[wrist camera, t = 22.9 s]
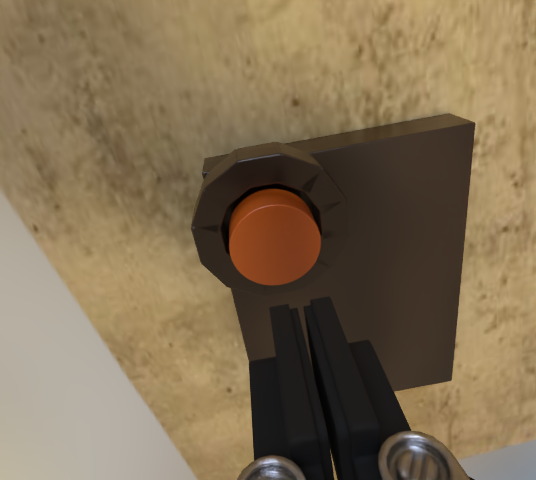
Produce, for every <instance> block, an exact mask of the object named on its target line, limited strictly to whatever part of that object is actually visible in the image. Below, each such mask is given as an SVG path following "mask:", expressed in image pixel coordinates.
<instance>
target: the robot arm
mask: <svg viewBox="0 0 536 480" xmlns="http://www.w3.org/2000/svg"><path fill="white" fill-rule="evenodd" d="M303 309H304V316H305V322H306V329H307V336H308V343H309V350H310V356H311V362H310V358H309V354H308V349H307V345H306V341H305V337H304V333H303V329H302V325H301V321H300V317H299V312H298V308H292V309H290V308H289V304H284V305H278V306H272V307H269V310H270V318H271V325H272V332H273V339H274V346H275V354H276V356H275V357H269V358H264V359H258V360H253V361H249V373H250V391H251V410H252V428H253V447H254V461H253V462H251V463H250V464H249V465H248V466H247V467H246V468H245V469H244V470H243V471H242V472H241V474H240V475H239V477H238V479H237V480H334V475H333V467H332V460H331V454H332V458H333V462H334V467H335V471H336V475H337V479H338V480H474V479H472V478H470V477H469V476H468V475H467V474H466V473H465V471H464V470H463V468H462V467H461V465H460V464H459V463H458V461H457V460H456V458H455V457H454V456H453V454H452V453H451V452H450V451H449V450H448V448H447V447H446V446H445V445H444V444H443V443H442V442H440V441H439V440H437V439H436V438H434V437H433V436H430V435H428V434H425V433H422V432H417V431H411V429H410V427H409V424H408V422H407V420H406V418H405V416H404V413H403V411H402V409H401V407H400V405H399V402H398V400H397V398H396V396H395V394H394V391H393V389H392V387H391V385H390V383H389V381H388V378H387V376H386V374H385V372H384V370H383V367H382V365H381V363H380V361H379V359H378V356H377V354H376V352H375V350H374V348H373V346H372V344H371V342H370V341H369V340H363V341H358V342H352V343H348V342H347V339H346V337H345V334H344V331H343V329H342V326H341V324H340V321H339V318H338V316H337V313H336V310H335V308H334V305H333V302H332V300H331V298H330V296H328V297H322V298H317V299H311V300H310V305H308V306H303ZM311 363H312V366H311ZM330 450H331V452H330Z"/></svg>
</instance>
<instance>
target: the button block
mask: <svg viewBox="0 0 536 480" xmlns="http://www.w3.org/2000/svg"><path fill="white" fill-rule="evenodd" d="M474 131H475V122H472V121H469V120H466V119H464V118H461V117H458V116H455V115H453V114H444V115H439V116H434V117H428V118H423V119H417V120H412V121H406V122H401V123H395V124H390V125H385V126H379V127H374V128H368V129H363V130H357V131H352V132H346V133H341V134H336V135H330V136H325V137H319V138H314V139H308V140H303V141H298V142H292V143H287V144H282V143H279V142H272V143H267V144H262V145H256V146H251V147H245V148H240V149H237V150H234V151H233V152H232V153H231V154H227V155H221V156H216V157H210V158H205V160H204V166H203V172H202V175H203V179H204V180H203V183H202V187H201V190H200V193H199V196H198V199H197V202H196V205H195V208H194V213H193V219H192V224H191V225H192V226H191V230H192V233H193V237H194V240H195V244H196V247H197V251H198V254H199V258H200V262H201V263H202V264H203V265H204V266H205V267H206V268H207V269H208V270H209V271H210V272H211V273H212V274H214V275H215V276H216V277H217V278H218V279H219V280H220V281H221V282H222V283H223V284H225V285H226V286H227V287H229V288H231V291H232V295H233V299H234V303H235V307H236V311H237V315H238V319H239V323H240V327H241V331H242V335H243V339H244V343H245V347H246V351H247V355H248V359H249V361H253V360H258V359H264V358H269V357H275V356H276V354H275V346H274V339H273V332H272V325H271V318H270V310H269V307H272V306H278V305H284V304H289V308H290V309H292V308H298V312H299V317H300V321H301V325H302V329H303V333H304V337H305V341H306V345H307V349H308V354H309V358H310V362H311V356H310V350H309V343H308V336H307V329H306V322H305V316H304V309H303V306H308V305H310V300H311V299H317V298H322V297H328V296H330V298H331V300H332V302H333V305H334V308H335V310H336V313H337V316H338V318H339V321H340V324H341V326H342V329H343V331H344V334H345V337H346V339H347V342H348V343H352V342H358V341H363V340H369V341H370V342H371V344H372V346H373V348H374V350H375V352H376V354H377V356H378V359H379V361H380V363H381V365H382V367H383V370H384V372H385V374H386V376H387V378H388V381H389V383H390V385H391V387H392V389H393V391H399V390H405V389H410V388H415V387H420V386H426V385H431V384H436V383H442V382H447V381H451V380H452V371H453V360H454V349H455V338H456V327H457V316H458V305H459V294H460V284H461V273H462V262H463V251H464V240H465V229H466V218H467V207H468V196H469V185H470V174H471V163H472V152H473V142H474ZM264 189H282V190H286V191H289V192H291V193H293V194H295V195H297V196H298V197H300V198H301V199H302V200H303V201H304V202H305V203H306V205H307V206H308V208H309V210H310V212H311V214H312V216H313V218H314V220H315V222H316V224H317V226H318V229H319V232H320V236H321V249H320V253H319V256H318V258H317V260H316V262H315V264H314V265H313V266H312V268H311V269H310V270H309V271H308V272H307V273H306V274H304V275H303V276H302V277H300V278H299V279H297V280H295V281H293V282H290V283H287V284H282V285H263V284H259V283H256V282H253V281H251V280H249V279H248V278H246V277H245V276H243V275H242V274H241V273H240V272H239V271H238V270H237V268H236V267H235V266H234V264H233V262H232V259H231V256H230V251H229V223H230V219H231V216H232V213H233V211H234V210H235V208H236V207H237V205H238V204H239V203H240V202H241V201H242V200H243V199H244V198H246V197H247V196H249V195H250V194H252V193H254V192H257V191H260V190H264ZM311 366H312V363H311Z"/></svg>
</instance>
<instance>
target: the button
mask: <svg viewBox="0 0 536 480" xmlns="http://www.w3.org/2000/svg"><path fill="white" fill-rule="evenodd" d="M320 249H321V236H320V232H319V229H318V226H317V224H316V222H315V220H314V218H313V216H312V214H311V212H310V210H309V208H308V206H307V205H306V203H305V202H304V201H303V200H302V199H301V198H300V197H298V196H297V195H295V194H293V193H291V192H289V191H286V190H282V189H264V190H260V191H257V192H254V193H252V194H250V195H249V196H247V197H246V198H244V199H243V200H242V201H241V202H240V203H239V204H238V205H237V207H236V208H235V210H234V211H233V213H232V216H231V219H230V223H229V251H230V256H231V259H232V262H233V264H234V266H235V267H236V268H237V270H238V271H239V272H240V273H241V274H242V275H243V276H245V277H246V278H248V279H249V280H251V281H253V282H256V283H259V284H263V285H282V284H287V283H290V282H293V281H295V280H297V279H299V278H300V277H302V276H303V275H304V274H306V273H307V272H308V271H309V270H310V269H311V268H312V266H313V265H314V264H315V262H316V260H317V258H318V256H319V253H320Z"/></svg>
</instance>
